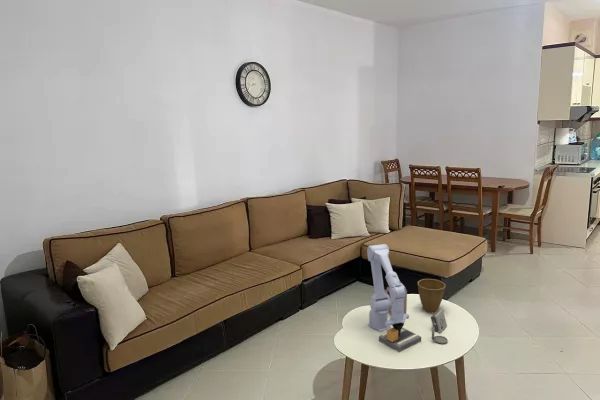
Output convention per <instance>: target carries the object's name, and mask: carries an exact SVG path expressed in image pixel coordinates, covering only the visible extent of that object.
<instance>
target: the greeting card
mask: <svg viewBox="0 0 600 400" xmlns="http://www.w3.org/2000/svg"><path fill="white" fill-rule="evenodd" d="M389 291H390V287H389V286H387V287H386V294H388V295H389V297H390V301H391V296H390V292H389ZM407 301H408V294H407V295H406V297H404V314H407V305H408V303H407ZM391 304H392V301H391ZM388 314H389V315H390V316H391V315H392V306H391V309H390V310H389V312H388Z"/></svg>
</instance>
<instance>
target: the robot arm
mask: <svg viewBox="0 0 600 400" xmlns="http://www.w3.org/2000/svg"><path fill="white" fill-rule="evenodd" d="M366 254H367V261H368V262H370V266H371V274H372V275H371V276H372V280H373V281H372V284H373V290H374V293H373V294H372V295H371V296H370V303H369V307H370V310H369V312H368V313H369V314H368V317H369V318H368V323H367V325H368V326H369V327H371V328H373V329H375V330H377V331H379V332H383V331H387V330H388V329H391V328H395V329H397V330H398V337H399V336H400V331H401V329H402V327H403V328H404V326H405V322H406V320H407V319H409V318H410V314H408V313H406V314H404V297H406V295H407V296H408V290H407V289H406V287H405V285H404V284H403V283H402V282H401V281H400V279H399V276H398V274H397V272H396V271H394V270H393V267H392V264H391V260H390V257H389V256H390V248H389V246H388V245H387V244H386V243H382V244H375V245H374V244H373V245H369V246H367V248H366ZM382 269H383V270H384V272H385V274H386V275H385V280H386V282H387V285H388V287H389V288H390V291H389V292H390V296H391V301H392V304H391V301H390V297H389V295H388V294H387V292H385V286H384V279H383V271H382ZM391 306H392V315H390V316H391V317H390V318H389V319H388V317H389V316H388V314H389V313H388V312H389V310H390V309H391Z"/></svg>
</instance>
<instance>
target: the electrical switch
mask: <svg viewBox="0 0 600 400" xmlns="http://www.w3.org/2000/svg"><path fill="white" fill-rule="evenodd" d="M444 312H445V311H444V309H440V310H437V311H436V312H435V313H432V315H430V321H431V324H432V325H433V321H434V324H435V325H434V326H435V332H438V334H442V333H443V331H444V330H445V329H446V328H447V327H448V324H447V323H448V322H447V320H446V315H445V313H444ZM432 325H431V326H432Z"/></svg>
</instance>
